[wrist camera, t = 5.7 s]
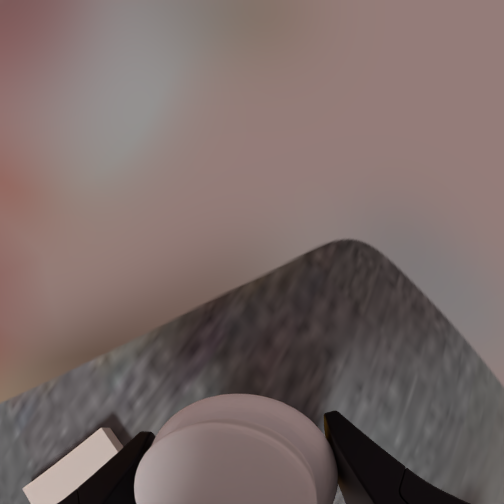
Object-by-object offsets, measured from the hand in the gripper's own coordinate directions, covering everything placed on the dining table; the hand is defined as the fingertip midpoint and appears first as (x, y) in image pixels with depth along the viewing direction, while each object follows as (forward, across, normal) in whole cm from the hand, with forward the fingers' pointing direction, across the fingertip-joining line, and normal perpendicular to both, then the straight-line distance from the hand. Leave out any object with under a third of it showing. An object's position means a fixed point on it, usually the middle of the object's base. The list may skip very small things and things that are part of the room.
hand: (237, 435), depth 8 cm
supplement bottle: (+4, 0, +6) cm, 7 cm away
